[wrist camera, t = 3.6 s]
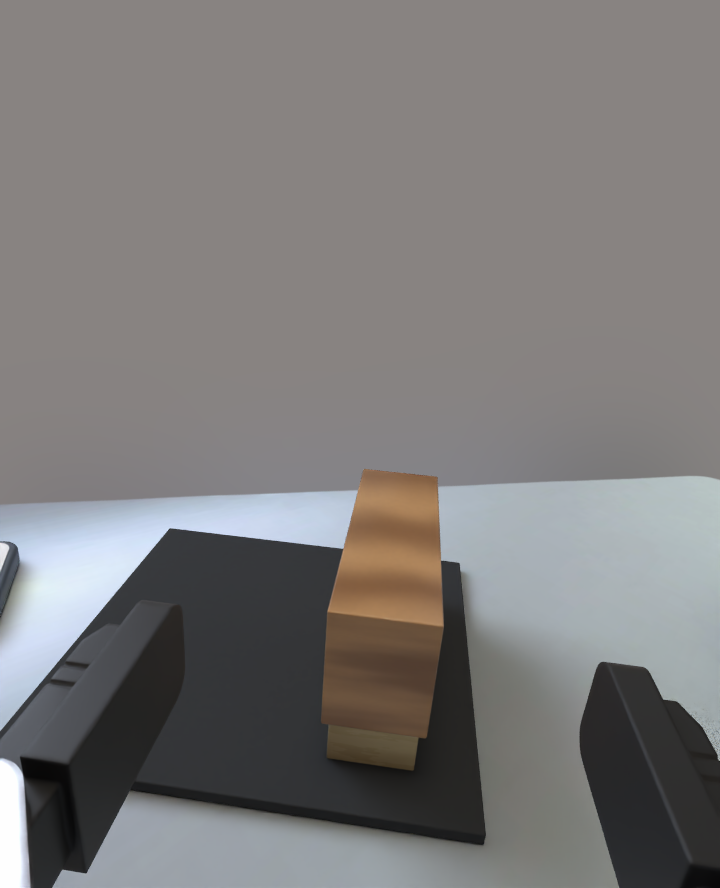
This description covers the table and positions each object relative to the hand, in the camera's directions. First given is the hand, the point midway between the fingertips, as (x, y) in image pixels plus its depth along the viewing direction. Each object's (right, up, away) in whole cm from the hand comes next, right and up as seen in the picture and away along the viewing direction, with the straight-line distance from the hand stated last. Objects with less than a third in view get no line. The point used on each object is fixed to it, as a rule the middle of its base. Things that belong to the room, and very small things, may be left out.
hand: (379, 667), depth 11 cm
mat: (-5, -7, +22) cm, 24 cm away
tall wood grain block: (+1, -8, +21) cm, 22 cm away
